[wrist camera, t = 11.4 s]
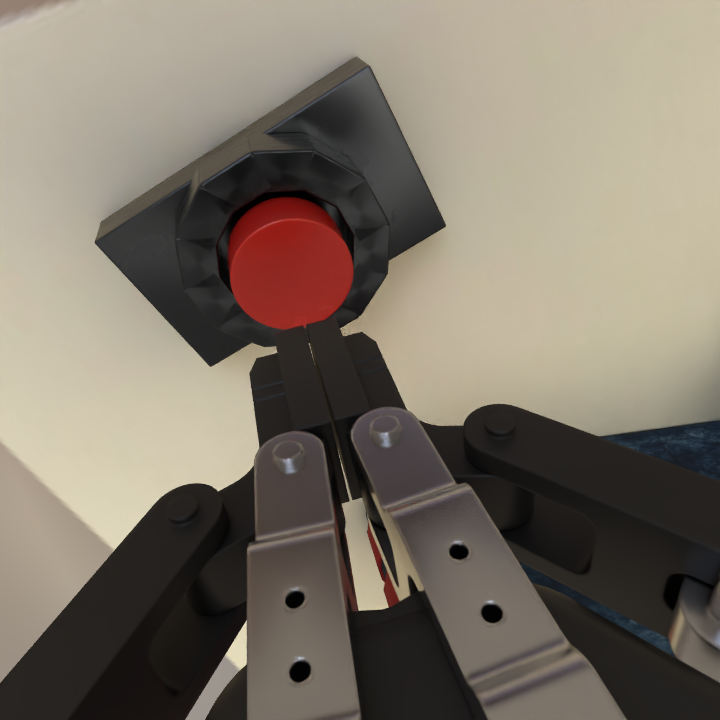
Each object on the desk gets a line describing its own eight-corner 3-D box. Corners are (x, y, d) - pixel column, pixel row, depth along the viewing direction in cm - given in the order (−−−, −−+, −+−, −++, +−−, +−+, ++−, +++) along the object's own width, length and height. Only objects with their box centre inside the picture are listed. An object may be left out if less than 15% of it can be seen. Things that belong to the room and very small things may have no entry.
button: (305, 173, 18) (314, 193, 16) (361, 265, 20) (374, 290, 19) (203, 237, 18) (203, 263, 17) (269, 321, 20) (275, 350, 19)
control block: (353, 47, 19) (381, 68, 16) (434, 214, 23) (468, 253, 20) (94, 216, 20) (78, 261, 17) (213, 347, 24) (216, 402, 21)
